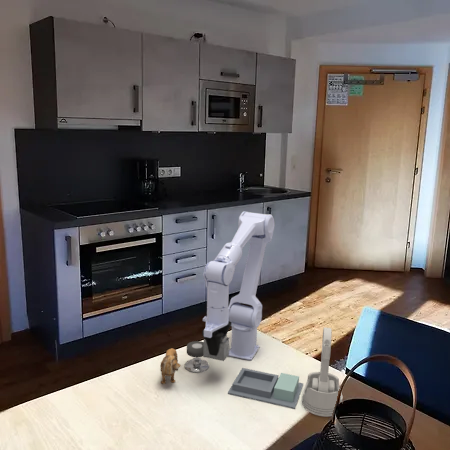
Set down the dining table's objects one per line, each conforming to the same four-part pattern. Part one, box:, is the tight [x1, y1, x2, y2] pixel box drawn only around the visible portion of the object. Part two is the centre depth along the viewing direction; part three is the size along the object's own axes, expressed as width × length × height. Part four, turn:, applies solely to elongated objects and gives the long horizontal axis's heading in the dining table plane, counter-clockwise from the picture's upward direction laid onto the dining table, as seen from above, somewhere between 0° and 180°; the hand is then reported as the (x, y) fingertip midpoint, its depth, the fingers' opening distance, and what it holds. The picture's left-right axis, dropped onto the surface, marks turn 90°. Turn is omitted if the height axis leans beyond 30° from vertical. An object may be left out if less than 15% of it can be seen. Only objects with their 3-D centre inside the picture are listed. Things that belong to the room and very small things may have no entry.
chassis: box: [227, 367, 304, 410], centre depth 126 cm, size 12×18×3 cm, turn 71°
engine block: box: [203, 334, 230, 362], centre depth 129 cm, size 4×6×6 cm
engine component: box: [301, 326, 344, 417], centre depth 119 cm, size 11×20×10 cm
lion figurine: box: [160, 348, 181, 385], centre depth 131 cm, size 15×5×9 cm, turn 8°
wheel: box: [186, 340, 204, 358], centre depth 136 cm, size 6×6×2 cm
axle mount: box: [184, 357, 210, 374], centre depth 137 cm, size 7×7×2 cm
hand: (216, 350), depth 129 cm, fingers closed on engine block, 4 cm apart
